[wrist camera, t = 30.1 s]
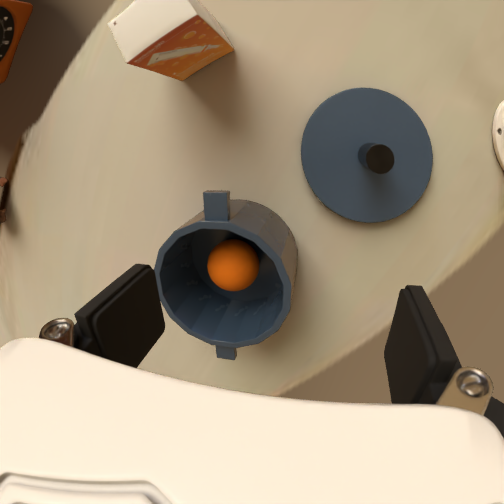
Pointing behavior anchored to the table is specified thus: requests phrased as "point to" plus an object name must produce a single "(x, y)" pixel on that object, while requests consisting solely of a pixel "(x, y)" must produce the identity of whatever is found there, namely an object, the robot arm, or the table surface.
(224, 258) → the ball
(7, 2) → the alarm clock
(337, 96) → the lid
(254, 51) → the table surface
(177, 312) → the pot
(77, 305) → the table surface
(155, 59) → the small box
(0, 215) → the orange grey twisted loop
